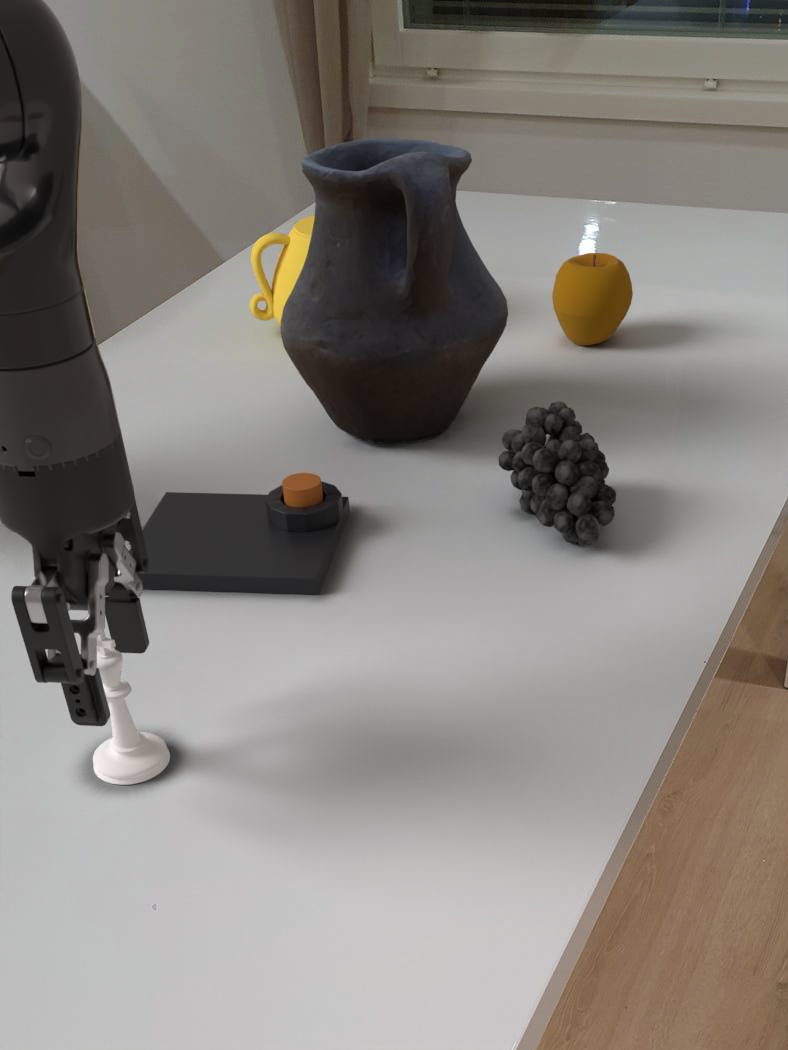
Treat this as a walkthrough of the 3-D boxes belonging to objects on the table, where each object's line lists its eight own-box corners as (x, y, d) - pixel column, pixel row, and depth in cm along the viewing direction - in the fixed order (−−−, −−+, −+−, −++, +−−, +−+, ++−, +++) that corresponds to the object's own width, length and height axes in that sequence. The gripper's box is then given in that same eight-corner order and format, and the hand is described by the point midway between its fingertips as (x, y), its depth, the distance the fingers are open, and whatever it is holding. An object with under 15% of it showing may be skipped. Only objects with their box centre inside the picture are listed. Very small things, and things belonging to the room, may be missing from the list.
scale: (118, 588, 101) (110, 553, 99) (168, 506, 112) (162, 474, 110) (318, 594, 100) (314, 560, 98) (350, 511, 110) (347, 478, 108)
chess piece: (140, 792, 82) (106, 659, 75) (78, 774, 83) (39, 641, 77) (185, 749, 85) (156, 618, 78) (124, 732, 87) (91, 602, 80)
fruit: (622, 452, 96) (568, 374, 107) (520, 497, 97) (477, 415, 108) (649, 546, 102) (595, 462, 113) (553, 587, 103) (509, 501, 114)
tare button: (280, 509, 105) (278, 489, 104) (289, 491, 107) (286, 471, 106) (319, 510, 105) (317, 490, 104) (326, 492, 107) (324, 472, 106)
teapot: (435, 343, 140) (429, 216, 131) (262, 362, 136) (245, 234, 128) (399, 285, 154) (392, 168, 146) (242, 302, 151) (225, 183, 143)
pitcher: (454, 368, 134) (444, 96, 117) (551, 446, 119) (556, 147, 103) (266, 406, 128) (228, 123, 111) (344, 493, 113) (313, 182, 96)
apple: (617, 359, 135) (622, 271, 129) (540, 351, 137) (541, 264, 131) (638, 332, 141) (643, 246, 135) (564, 324, 143) (566, 239, 137)
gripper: (29, 378, 75) (92, 623, 86) (-75, 488, 64) (12, 751, 75) (154, 380, 74) (202, 627, 85) (70, 491, 64) (137, 757, 74)
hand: (113, 684), depth 80 cm, fingers open, 7 cm apart
